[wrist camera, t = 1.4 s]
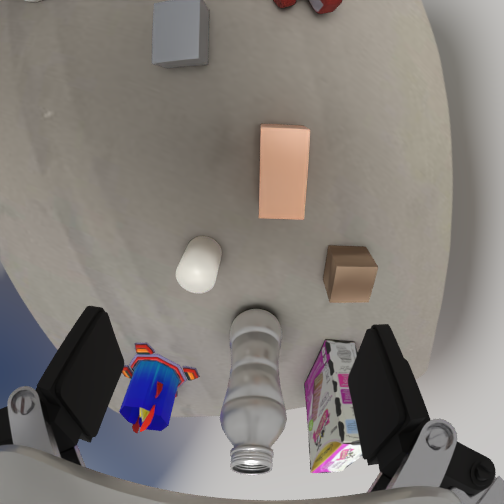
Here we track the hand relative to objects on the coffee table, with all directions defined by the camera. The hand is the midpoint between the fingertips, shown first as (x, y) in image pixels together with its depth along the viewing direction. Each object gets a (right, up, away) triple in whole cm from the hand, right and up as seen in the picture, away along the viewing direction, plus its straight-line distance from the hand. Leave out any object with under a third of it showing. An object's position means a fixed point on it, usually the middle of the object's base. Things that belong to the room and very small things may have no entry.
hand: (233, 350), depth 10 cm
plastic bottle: (+1, -5, +28) cm, 28 cm away
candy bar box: (+12, -14, +32) cm, 37 cm away
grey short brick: (-5, +24, +12) cm, 27 cm away
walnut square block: (+11, +2, +23) cm, 26 cm away
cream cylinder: (-5, +3, +23) cm, 24 cm away
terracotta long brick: (+3, +12, +18) cm, 22 cm away
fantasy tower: (-15, -16, +35) cm, 41 cm away
